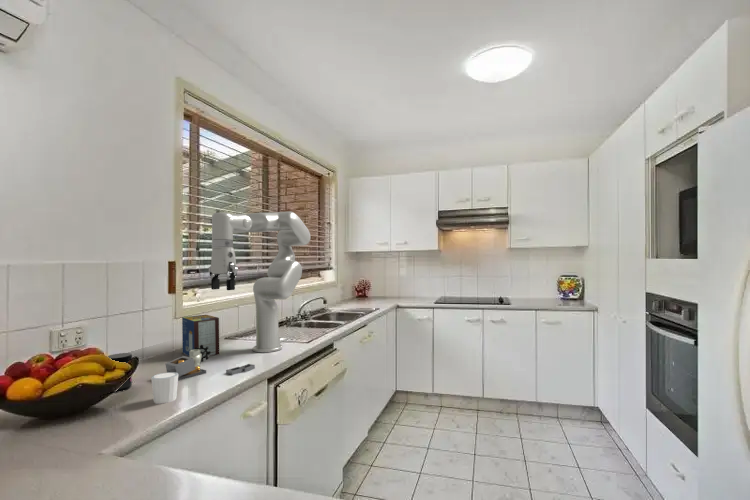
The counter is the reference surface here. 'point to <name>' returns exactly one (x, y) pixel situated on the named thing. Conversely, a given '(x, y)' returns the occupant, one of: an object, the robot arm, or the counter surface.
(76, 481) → the counter surface
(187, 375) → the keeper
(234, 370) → the chain tail
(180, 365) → the end link
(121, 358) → the supplement container
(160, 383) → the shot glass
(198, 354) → the valve
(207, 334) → the protein box
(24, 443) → the counter surface
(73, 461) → the counter surface
